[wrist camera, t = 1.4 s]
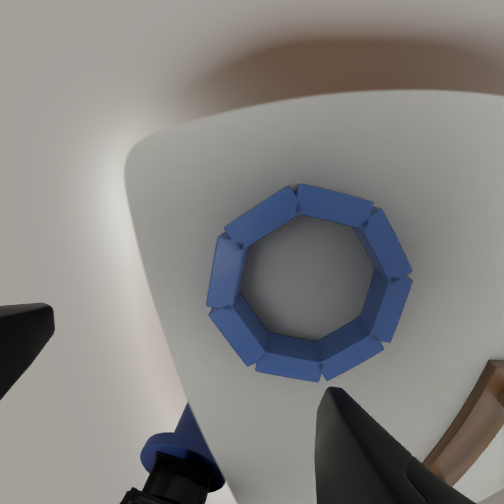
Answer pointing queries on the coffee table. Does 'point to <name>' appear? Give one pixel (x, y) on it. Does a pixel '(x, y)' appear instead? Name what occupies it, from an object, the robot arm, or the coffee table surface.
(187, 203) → the coffee table surface
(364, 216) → the ring
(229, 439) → the coffee table surface
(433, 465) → the rack
